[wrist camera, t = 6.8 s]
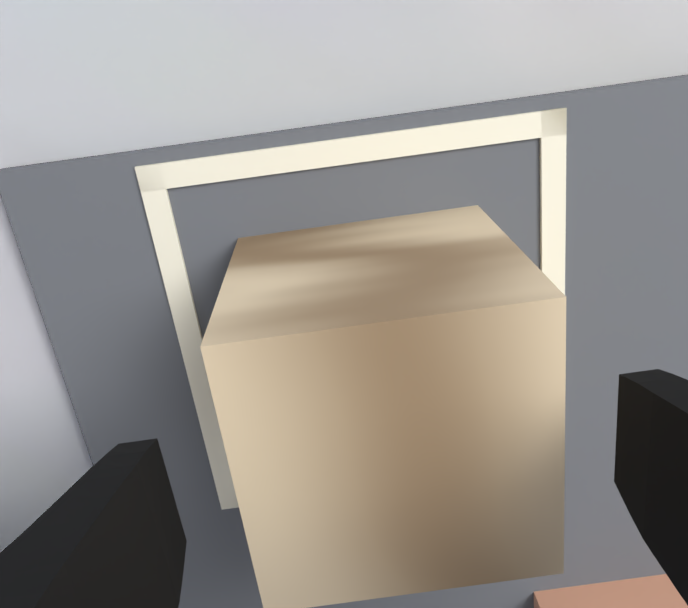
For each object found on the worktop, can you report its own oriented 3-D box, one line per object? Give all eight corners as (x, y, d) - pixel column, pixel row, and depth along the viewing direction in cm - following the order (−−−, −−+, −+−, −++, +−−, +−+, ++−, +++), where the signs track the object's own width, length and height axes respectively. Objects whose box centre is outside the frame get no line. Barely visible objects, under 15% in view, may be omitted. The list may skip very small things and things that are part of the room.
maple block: (278, 438, 15) (264, 613, 11) (238, 237, 13) (200, 346, 9) (487, 409, 15) (563, 573, 11) (477, 204, 13) (566, 297, 9)
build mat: (205, 774, 21) (203, 791, 20) (2, 168, 13) (-9, 174, 12) (796, 696, 20) (807, 711, 20) (943, 39, 13) (966, 39, 12)
